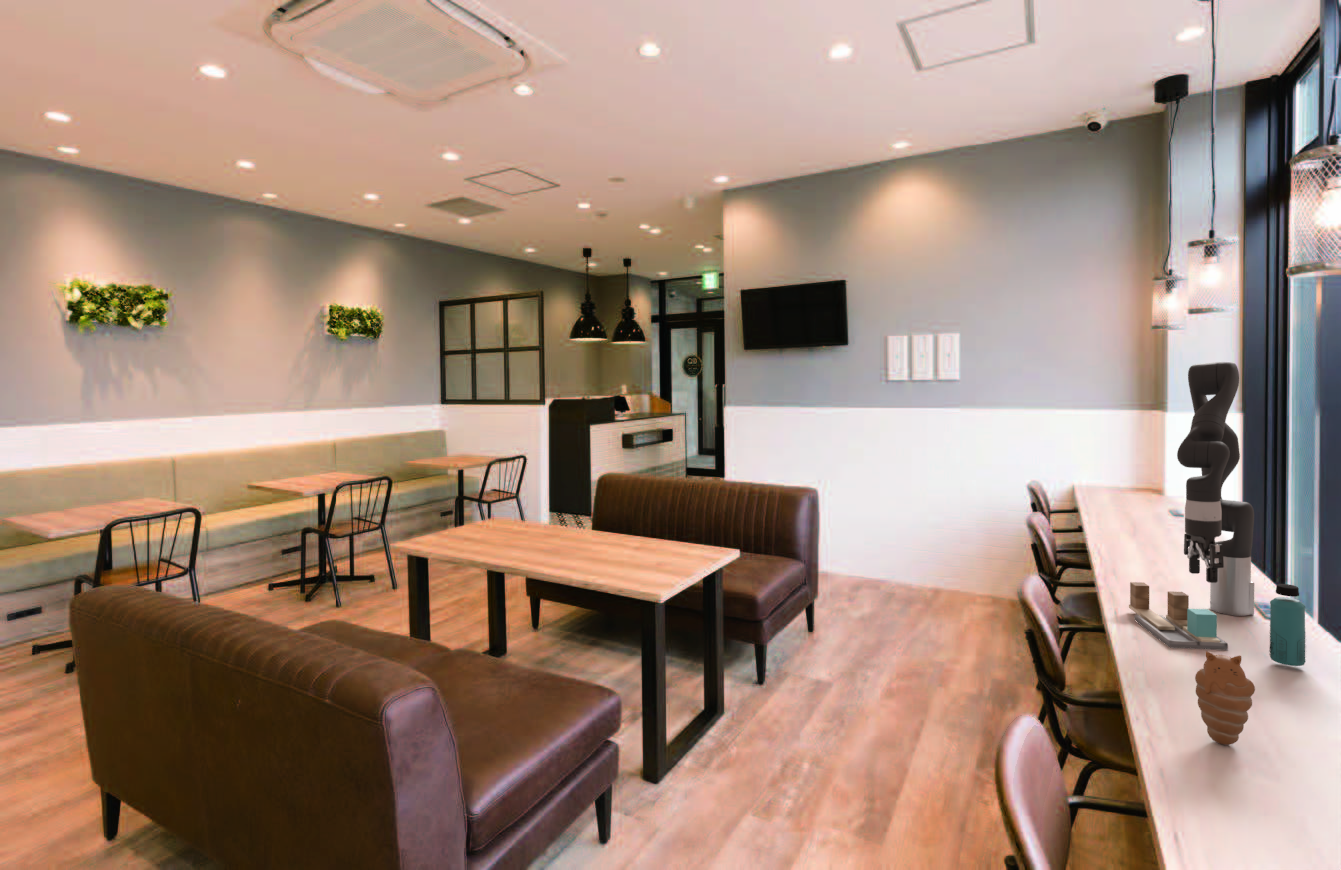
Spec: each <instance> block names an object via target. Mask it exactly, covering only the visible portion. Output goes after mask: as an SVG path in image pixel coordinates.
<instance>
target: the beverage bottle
mask: <svg viewBox="0 0 1341 870" xmlns="http://www.w3.org/2000/svg"><path fill="white" fill-rule="evenodd" d="M1275 594H1278V595H1280V596H1278V597H1275V598H1273V599H1271V600H1270V601H1269V604H1270V606H1269V607H1270V609H1269V610H1270V616H1269V617H1270V618H1269V619H1268V621H1269V650H1268V653H1269V657H1270V659H1271V661H1273V662H1275V663H1277V664H1281V665H1285V666H1294V667H1301V666H1304V665H1305V664H1306V637H1307V635H1306V634H1307V632H1306V605H1305V604H1304V603H1303V602H1301V600H1299V599H1296V598H1295V597H1299V596H1300V590H1299V586H1296V585H1293V584H1287V583H1278V584H1276V588H1275ZM1292 597H1294V598H1292Z"/></svg>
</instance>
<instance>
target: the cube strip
mask: <svg viewBox="0 0 1341 870" xmlns="http://www.w3.org/2000/svg"><path fill="white" fill-rule="evenodd" d="M1129 589H1130V590H1129V591H1130V592H1129V593H1130V595H1129V597H1130V598H1129V599H1130V600H1129V603H1130V604H1128V608H1129V609H1130V610H1131V611H1133V612H1134V613H1135V614H1138V615H1139V616H1140V617H1142V618H1143V619H1145V620H1146V621H1147V622H1149V623H1150V624H1151V625H1153V626H1154V627H1155V628H1157V629H1158V630H1175V626H1173V625H1172V624H1170V623H1169V622H1167V621H1166V620H1165V619H1163V618H1162V617H1160V616H1159V615H1160V614H1158V613H1156V612H1155V611H1153V610H1152V609H1150V585H1149V584H1147V583H1146V582H1140V581H1139V582H1138V581H1137V582H1136V581H1135V582H1132V581H1130V583H1129Z"/></svg>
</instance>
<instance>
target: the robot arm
mask: <svg viewBox="0 0 1341 870" xmlns="http://www.w3.org/2000/svg"><path fill="white" fill-rule="evenodd" d="M1187 379H1188V387H1189V392H1190V398H1191V403H1192V407H1193V412H1194V414H1193V417H1192V420H1191V423H1190V425H1191V426H1190V429H1189V432H1188V434H1187V435H1186V437H1184V439H1183V441H1181V443H1180V444H1179V447H1178V448H1177V449H1178V450H1177V452H1176V456H1177V457H1176V459H1177V461H1178V462H1179V464H1180V465H1181V466H1183V467H1184V468H1192V469H1201V475H1199V476H1198V475H1197V476H1191V477H1189V478H1188V479H1187V480H1186V483H1185V489H1186V490H1185V493H1186V494H1185V495H1186V497H1185V505H1184V536H1183V538H1184V539H1183V554H1184V555H1186V556H1187V557H1186V558H1187V559H1188V572H1189V574H1192V575H1194V574H1200V573H1201V569H1200V568H1201V566H1200V565H1201V562H1200V559H1201V560H1202V561H1203V562H1204V563H1205V566H1206V569H1205V575H1206V577H1205V579H1206V582H1207V583H1209V584H1210V588H1209V589H1210V592H1209V593H1210V596H1209V597H1210V599H1209V608H1210V611H1212V612H1214V613H1219V614H1222V615H1228V616H1238V617H1239V616H1240V617H1241V616H1242V617H1243V616H1249V615H1250V616H1251V615H1255V582H1253V581H1252V579H1251V578H1252V566H1251V565H1252V548H1253V540H1254V539H1253V538H1254V526H1255V511H1254V507H1253V506H1252V504H1251V503H1249V502H1247V501H1238V500H1229V499H1228V500H1227V499H1223V497H1222V489H1223V485H1224V483H1225V482H1226V480H1227V478H1228V477H1229V476H1230V475H1231V473H1232V472H1233V471H1234V470H1235V468H1236V467H1237V466H1238V464H1239V462H1240V457H1241V455H1240V453H1241V452H1240V444H1239V438H1238V435H1237V433H1236V432H1235V431H1234V430H1233V429H1232V428H1231V427H1230V425H1229V424H1228V423H1226V421H1227V418H1228V417H1227V416H1228V414H1229V411H1230V409H1231V407H1232V404H1233V402H1234V400H1235V397H1236V394H1237V392H1238V388H1239V384H1240V372H1239V368H1238V366H1237V364H1236V363H1235V362H1234V361H1216V362H1205V363H1197V364H1196V363H1195V364H1192V365H1191V366H1190V367H1189V368H1188V372H1187ZM1207 396H1213V397H1212V398H1210V399H1208V398H1207ZM1222 532H1231V533H1233V534H1232V538H1230V539H1227V540H1219V541H1216V540H1215V539H1216V538H1217V537H1221V536H1222Z"/></svg>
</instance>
